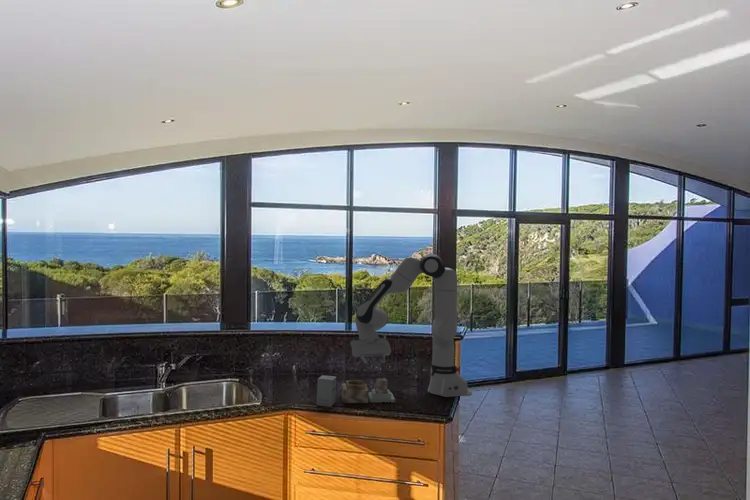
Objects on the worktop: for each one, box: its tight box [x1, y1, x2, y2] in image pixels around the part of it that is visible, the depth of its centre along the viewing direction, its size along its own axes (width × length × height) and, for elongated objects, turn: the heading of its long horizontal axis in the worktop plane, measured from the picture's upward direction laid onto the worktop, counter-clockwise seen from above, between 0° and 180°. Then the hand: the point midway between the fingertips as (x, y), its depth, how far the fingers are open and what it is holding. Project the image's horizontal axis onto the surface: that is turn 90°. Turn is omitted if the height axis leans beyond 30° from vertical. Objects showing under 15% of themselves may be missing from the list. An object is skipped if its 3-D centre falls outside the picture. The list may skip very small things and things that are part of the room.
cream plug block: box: [375, 377, 388, 394], centre depth 293 cm, size 4×4×8 cm
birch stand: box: [341, 380, 370, 404], centre depth 291 cm, size 12×12×8 cm
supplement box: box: [316, 374, 337, 408], centre depth 281 cm, size 7×7×13 cm
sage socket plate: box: [368, 388, 396, 404], centre depth 293 cm, size 12×12×4 cm
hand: (374, 362), depth 302 cm, fingers open, 8 cm apart
